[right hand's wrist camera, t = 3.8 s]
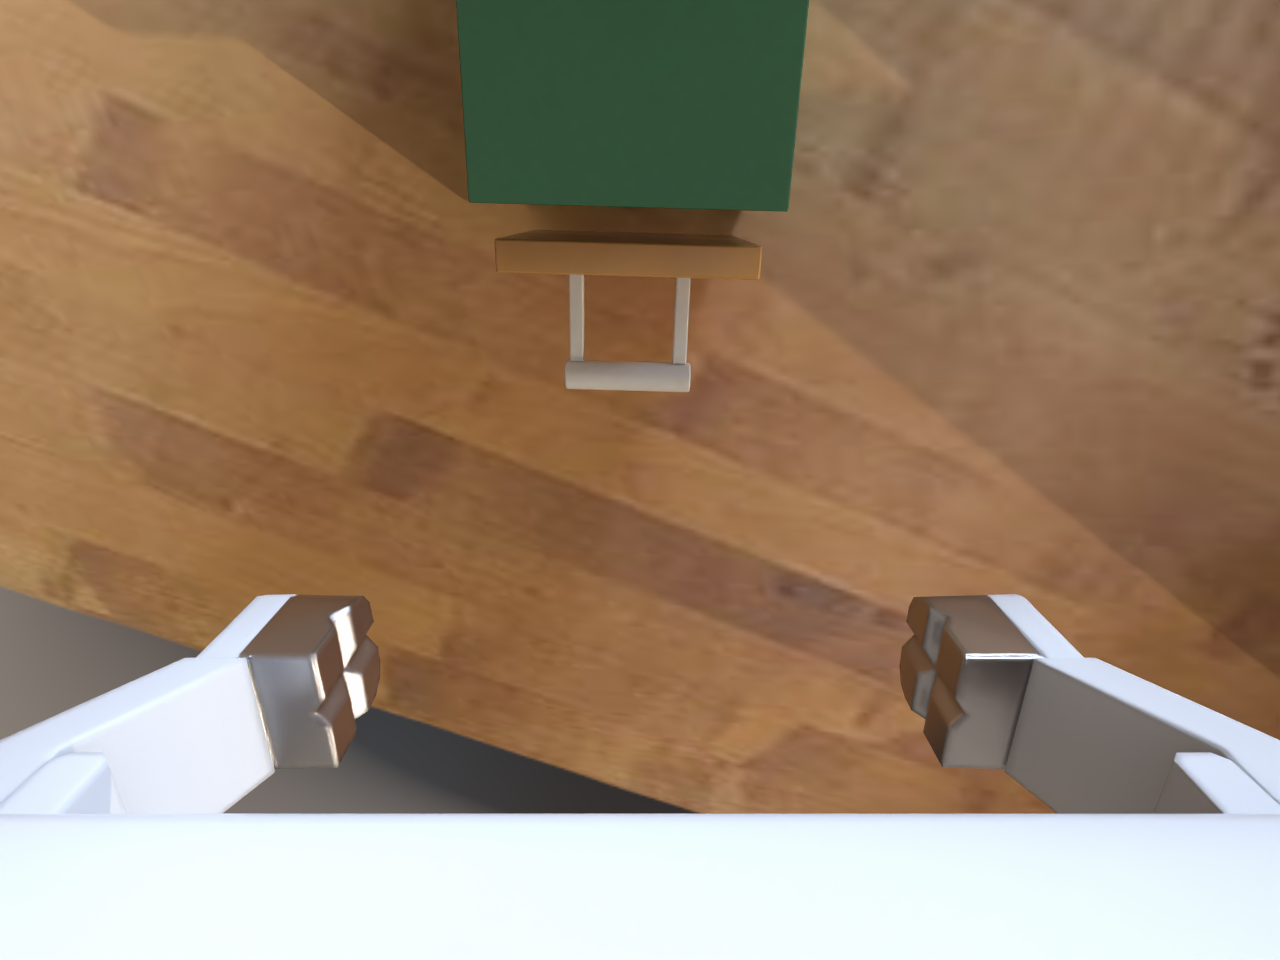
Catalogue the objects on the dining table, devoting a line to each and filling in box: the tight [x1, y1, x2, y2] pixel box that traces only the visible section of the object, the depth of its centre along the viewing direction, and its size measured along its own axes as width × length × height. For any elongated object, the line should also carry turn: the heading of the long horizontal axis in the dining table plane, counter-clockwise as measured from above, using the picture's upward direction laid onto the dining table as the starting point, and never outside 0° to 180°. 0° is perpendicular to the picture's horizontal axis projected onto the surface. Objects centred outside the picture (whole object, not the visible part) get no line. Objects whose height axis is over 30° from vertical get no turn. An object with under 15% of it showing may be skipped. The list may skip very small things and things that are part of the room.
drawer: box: [495, 230, 762, 392], centre depth 27 cm, size 25×10×10 cm, turn 179°
